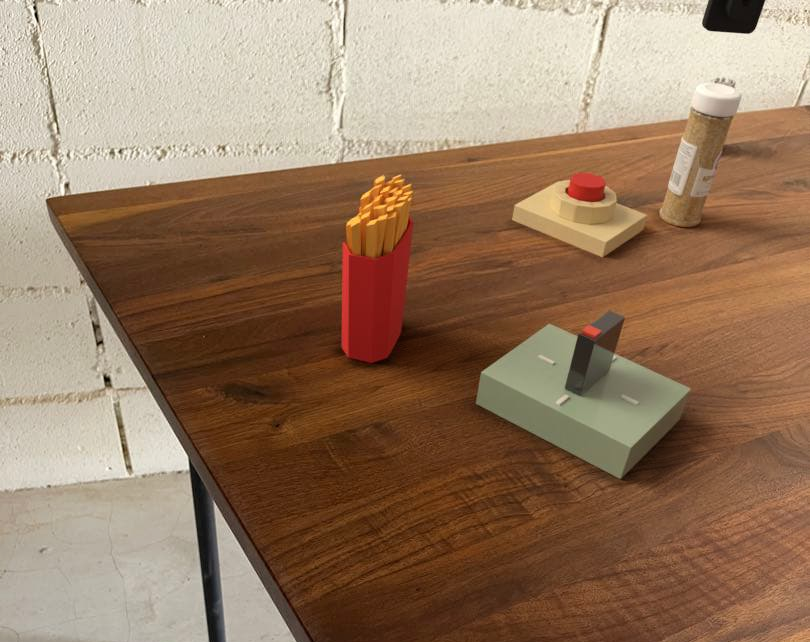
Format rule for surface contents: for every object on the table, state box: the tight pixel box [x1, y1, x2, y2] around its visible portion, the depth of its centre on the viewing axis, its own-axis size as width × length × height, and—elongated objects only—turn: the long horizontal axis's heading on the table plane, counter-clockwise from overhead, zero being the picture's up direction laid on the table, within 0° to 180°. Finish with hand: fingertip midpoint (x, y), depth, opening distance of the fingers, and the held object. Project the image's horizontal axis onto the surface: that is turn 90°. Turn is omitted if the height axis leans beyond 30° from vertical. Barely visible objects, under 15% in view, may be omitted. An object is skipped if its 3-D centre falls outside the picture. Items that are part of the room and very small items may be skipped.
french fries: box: [341, 173, 414, 364], centre depth 70 cm, size 9×4×13 cm, turn 165°
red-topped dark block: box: [565, 310, 626, 396], centre depth 66 cm, size 5×1×5 cm, turn 142°
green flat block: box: [475, 323, 692, 480], centre depth 69 cm, size 13×10×3 cm
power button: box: [567, 172, 607, 202], centre depth 91 cm, size 4×4×2 cm
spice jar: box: [658, 82, 742, 228], centre depth 92 cm, size 5×5×13 cm
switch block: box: [511, 179, 648, 258], centre depth 93 cm, size 11×9×4 cm
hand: (693, 6), depth 55 cm, fingers open, 9 cm apart
